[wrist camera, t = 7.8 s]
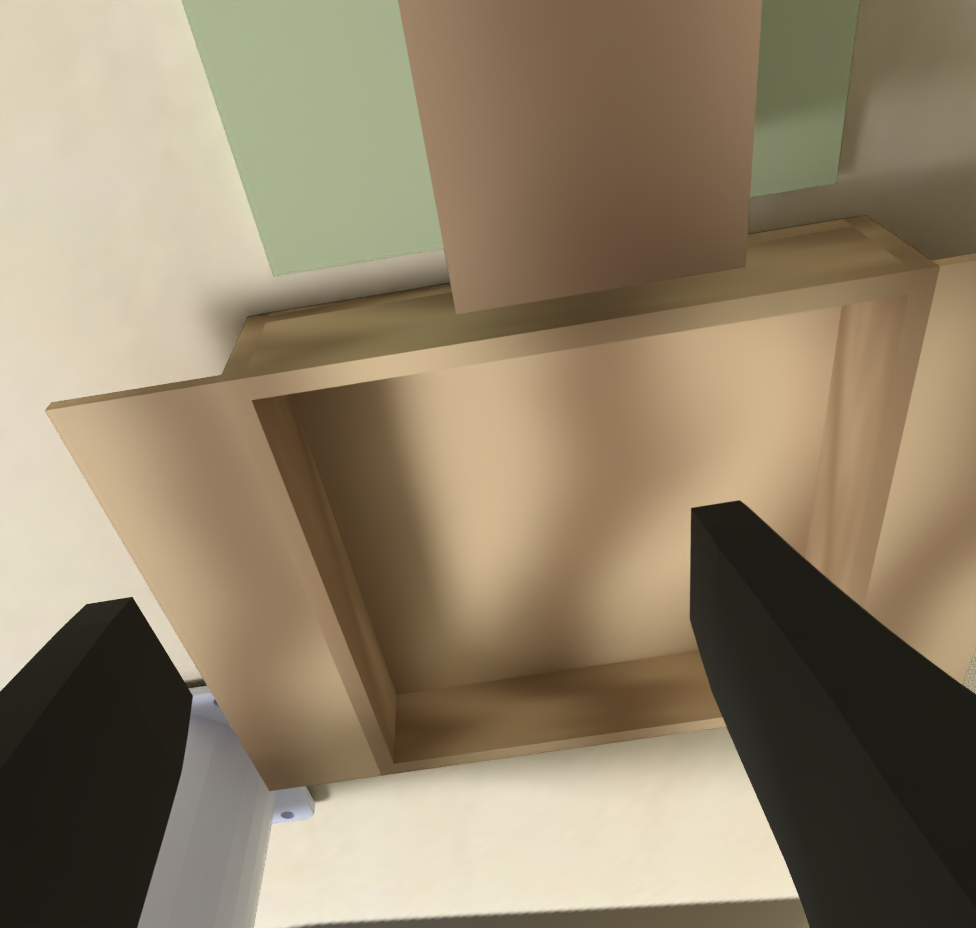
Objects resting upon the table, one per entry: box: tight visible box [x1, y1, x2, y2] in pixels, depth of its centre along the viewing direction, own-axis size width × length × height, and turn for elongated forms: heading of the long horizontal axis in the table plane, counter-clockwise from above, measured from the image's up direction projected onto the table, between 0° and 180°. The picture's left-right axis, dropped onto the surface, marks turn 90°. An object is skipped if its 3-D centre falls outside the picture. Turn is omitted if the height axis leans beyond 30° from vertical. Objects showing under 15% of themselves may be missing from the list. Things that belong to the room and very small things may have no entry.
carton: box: [45, 215, 976, 791], centre depth 20 cm, size 21×14×3 cm, turn 98°
